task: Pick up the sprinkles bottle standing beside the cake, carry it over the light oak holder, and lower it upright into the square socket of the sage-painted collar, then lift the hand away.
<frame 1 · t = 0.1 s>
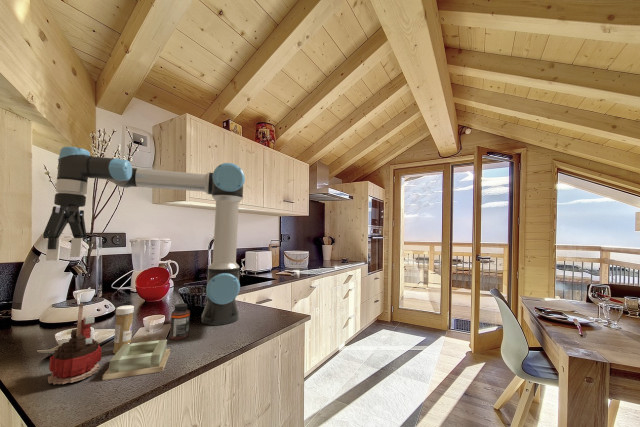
hand: (64, 258, 85), 28 cm above the countertop, tool pointing down, fingers open, 13 cm apart
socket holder: (139, 364, 73), on the countertop
sprinkles bottle: (121, 351, 81), on the countertop
supplement bottle: (179, 337, 93), on the countertop
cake: (74, 377, 66), on the countertop
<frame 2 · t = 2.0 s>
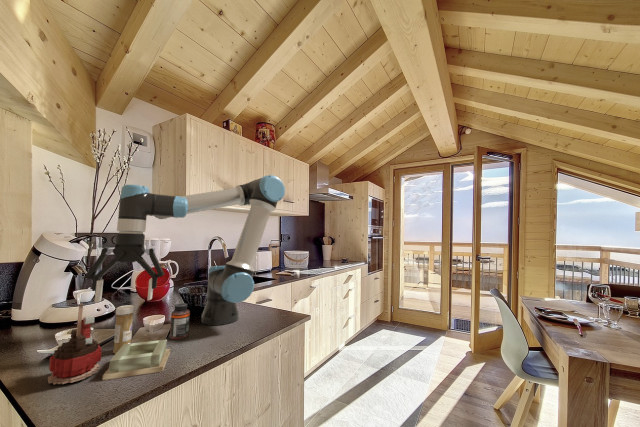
hand: (124, 300, 82), 15 cm above the countertop, tool pointing down, fingers open, 13 cm apart
nothing on the countertop moved.
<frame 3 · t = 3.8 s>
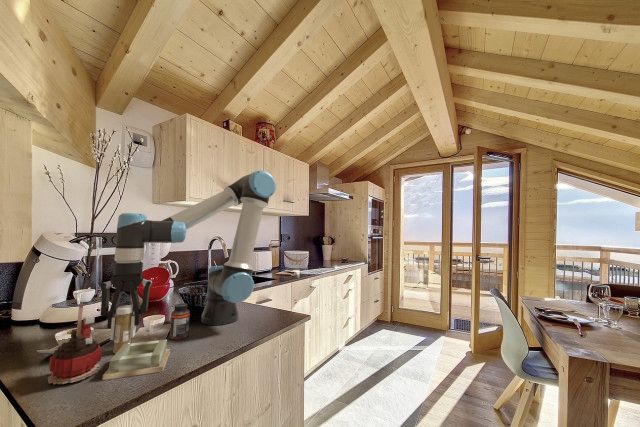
hand: (123, 337, 82), 4 cm above the countertop, tool pointing down, fingers closed on sprinkles bottle, 4 cm apart
sprinkles bottle: (121, 351, 81), on the countertop, touching gripper
everything else where it was.
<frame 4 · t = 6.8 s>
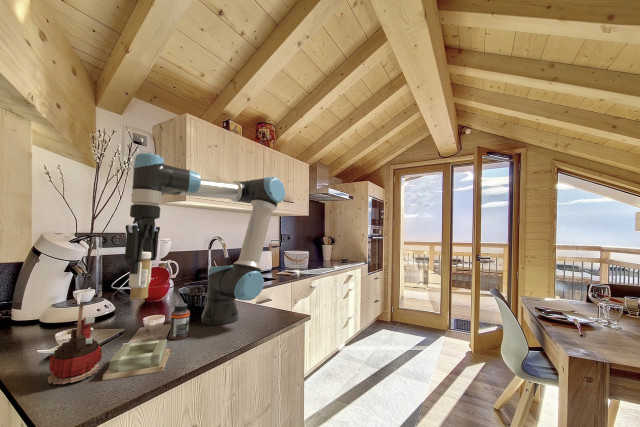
hand: (139, 283, 77), 22 cm above the countertop, tool pointing down, fingers closed on sprinkles bottle, 4 cm apart
sprinkles bottle: (138, 299, 77), point 17 cm above the countertop, touching gripper
everything else where it was.
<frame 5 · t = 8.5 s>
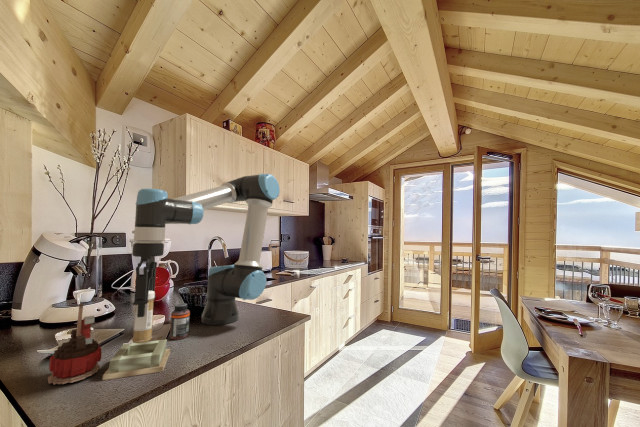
hand: (143, 325, 74), 11 cm above the countertop, tool pointing down, fingers closed on sprinkles bottle, 4 cm apart
sprinkles bottle: (141, 341, 73), point 6 cm above the countertop, touching gripper
everything else where it was.
when the fingers open (6 cm above the countertop, at t = 10.0 s): sprinkles bottle moves 2 cm, resting on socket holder.
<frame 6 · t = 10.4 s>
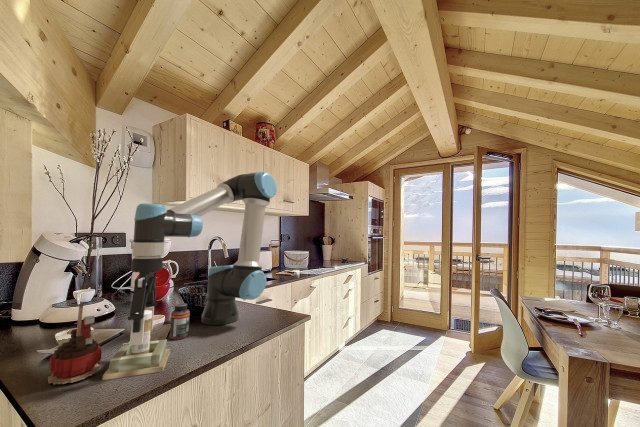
hand: (142, 336, 74), 8 cm above the countertop, tool pointing down, fingers open, 11 cm apart
sprinkles bottle: (139, 363, 72), point 1 cm above the countertop, touching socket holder
everything else where it was.
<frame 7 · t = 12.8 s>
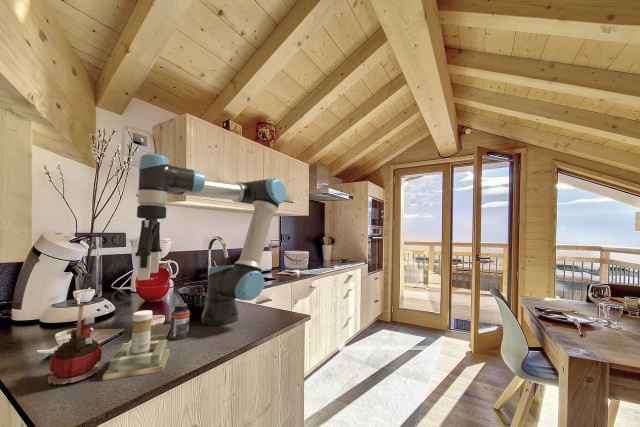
hand: (148, 276, 79), 24 cm above the countertop, tool pointing down, fingers open, 13 cm apart
nothing on the countertop moved.
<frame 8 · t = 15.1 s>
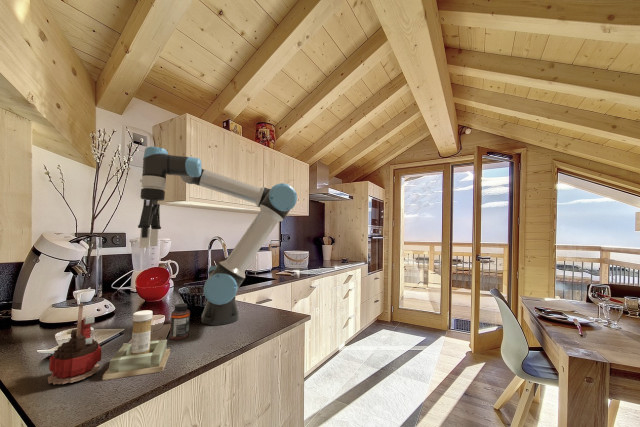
hand: (149, 246, 95), 32 cm above the countertop, tool pointing down, fingers open, 13 cm apart
nothing on the countertop moved.
at the end: sprinkles bottle 1.3 cm off-centre on the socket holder, point 1.0 cm above the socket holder's base; sprinkles bottle tilted 0°; the gripper is holding nothing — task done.
